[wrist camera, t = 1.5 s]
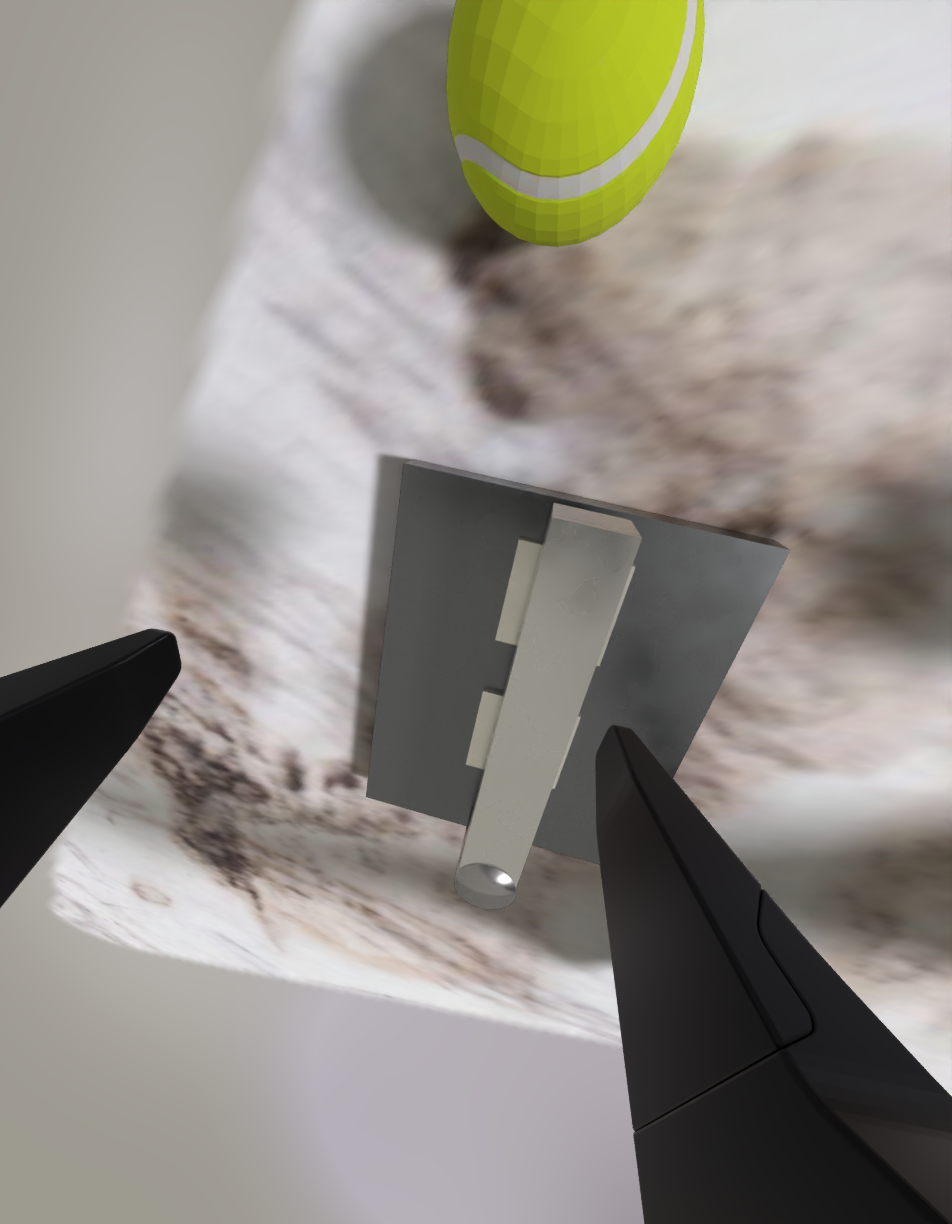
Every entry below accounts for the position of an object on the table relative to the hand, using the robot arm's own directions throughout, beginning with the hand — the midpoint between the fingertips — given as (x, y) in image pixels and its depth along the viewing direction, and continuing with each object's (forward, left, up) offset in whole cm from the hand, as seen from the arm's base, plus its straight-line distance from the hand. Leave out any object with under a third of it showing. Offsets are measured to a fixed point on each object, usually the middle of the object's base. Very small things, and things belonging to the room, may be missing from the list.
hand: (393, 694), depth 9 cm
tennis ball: (+14, 0, -14) cm, 19 cm away
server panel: (-7, -4, -13) cm, 16 cm away
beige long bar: (-8, -4, -11) cm, 14 cm away
